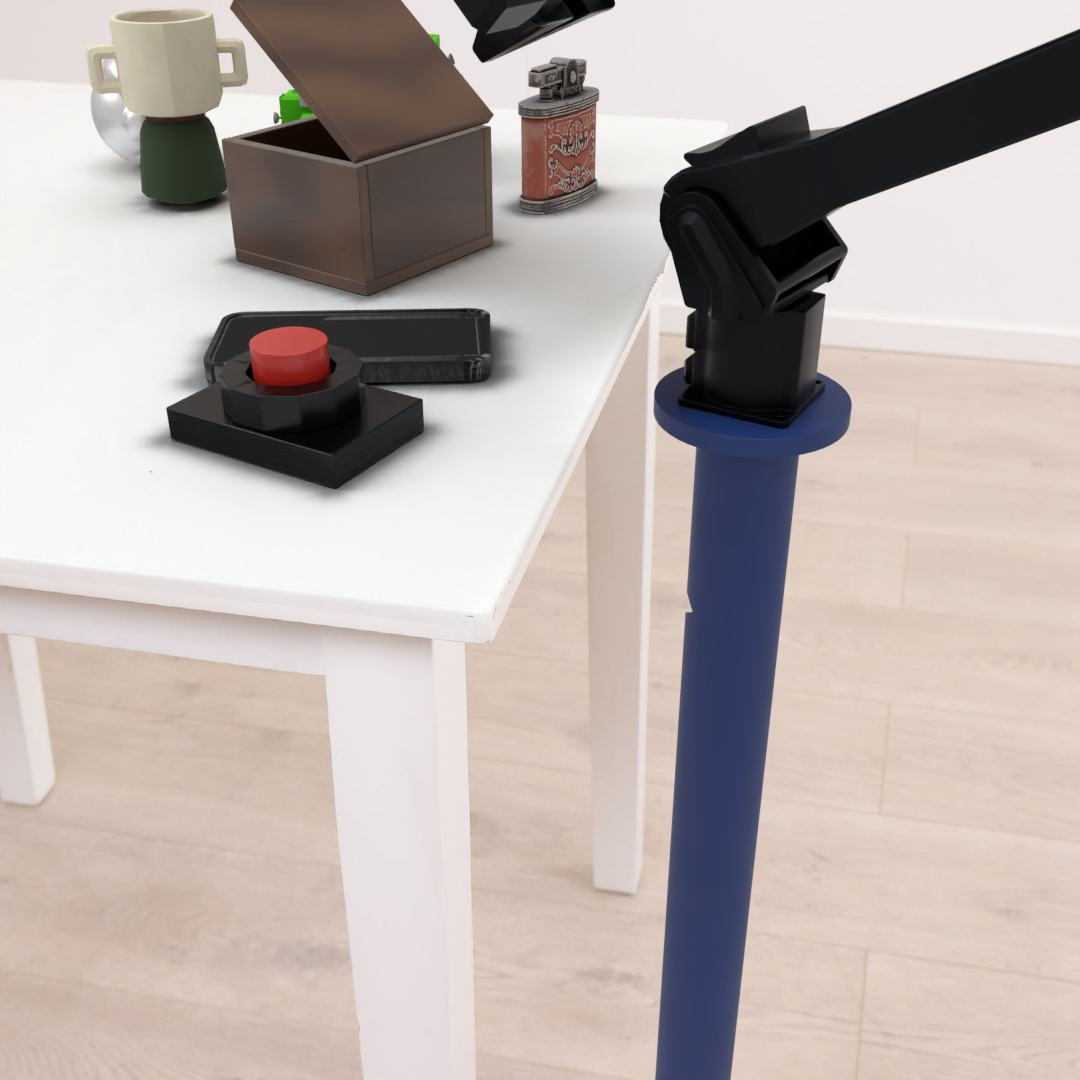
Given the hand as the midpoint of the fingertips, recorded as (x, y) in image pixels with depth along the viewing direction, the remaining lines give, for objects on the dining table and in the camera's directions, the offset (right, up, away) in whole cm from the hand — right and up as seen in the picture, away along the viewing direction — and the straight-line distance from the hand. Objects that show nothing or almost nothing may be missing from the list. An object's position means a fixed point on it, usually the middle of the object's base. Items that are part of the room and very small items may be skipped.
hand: (480, 55), depth 75 cm
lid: (-7, +1, +6) cm, 9 cm away
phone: (-7, -18, -3) cm, 19 cm away
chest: (-8, -9, +12) cm, 17 cm away
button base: (-8, -23, -12) cm, 27 cm away
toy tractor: (-9, +2, +31) cm, 32 cm away
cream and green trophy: (-23, -3, +23) cm, 32 cm away
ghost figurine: (-28, +2, +31) cm, 42 cm away
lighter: (+5, -3, +23) cm, 23 cm away
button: (-8, -20, -13) cm, 26 cm away
